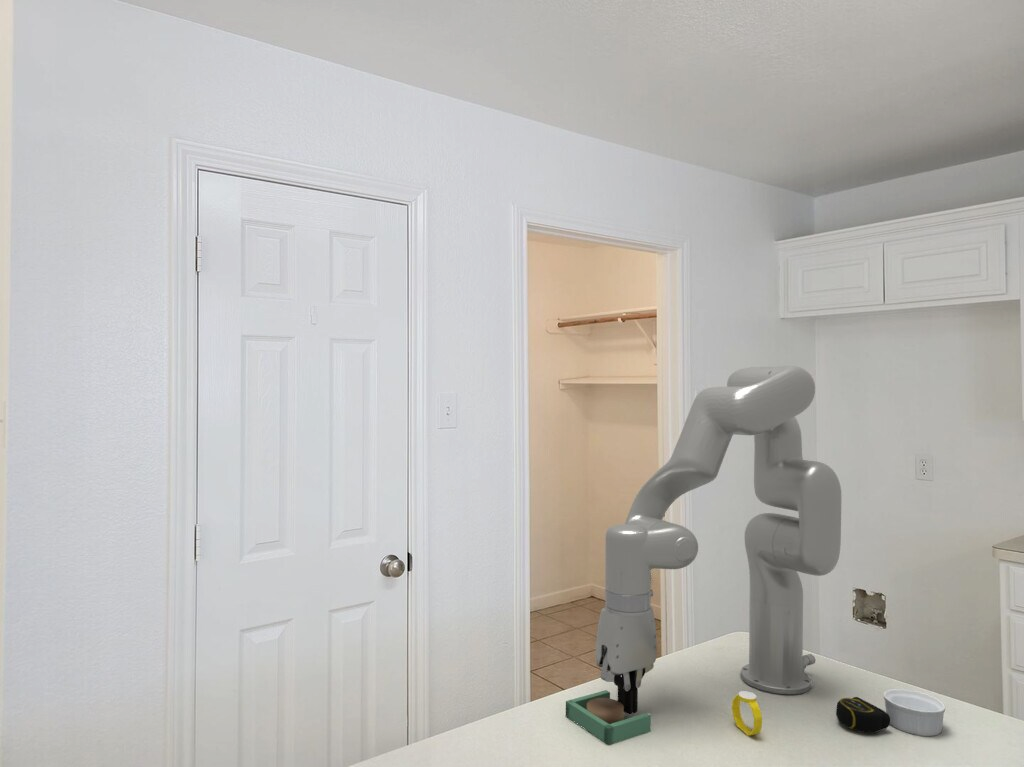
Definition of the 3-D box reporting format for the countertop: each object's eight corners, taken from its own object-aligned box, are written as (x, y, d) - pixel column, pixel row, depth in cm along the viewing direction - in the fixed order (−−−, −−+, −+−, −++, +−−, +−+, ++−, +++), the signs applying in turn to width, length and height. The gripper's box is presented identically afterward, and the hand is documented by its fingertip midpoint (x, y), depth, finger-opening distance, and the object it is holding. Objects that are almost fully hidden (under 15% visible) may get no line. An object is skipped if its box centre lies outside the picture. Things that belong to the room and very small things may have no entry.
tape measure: (892, 734, 110) (892, 711, 110) (858, 740, 108) (859, 716, 108) (859, 715, 117) (859, 693, 117) (826, 720, 115) (826, 698, 115)
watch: (727, 724, 113) (728, 687, 113) (741, 722, 113) (742, 685, 114) (751, 741, 107) (751, 703, 107) (766, 739, 108) (766, 701, 108)
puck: (607, 712, 116) (607, 695, 116) (631, 727, 111) (631, 709, 111) (579, 721, 113) (579, 702, 113) (601, 736, 108) (602, 717, 108)
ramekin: (892, 708, 120) (893, 683, 120) (951, 726, 113) (951, 700, 113) (875, 725, 113) (875, 698, 113) (936, 745, 107) (936, 717, 107)
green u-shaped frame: (606, 704, 119) (606, 690, 119) (650, 731, 110) (650, 715, 110) (565, 716, 114) (565, 701, 114) (608, 744, 105) (608, 728, 105)
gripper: (645, 588, 122) (645, 692, 121) (578, 601, 114) (578, 712, 114) (676, 599, 115) (676, 708, 115) (607, 613, 108) (607, 731, 107)
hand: (627, 710), depth 114 cm, fingers closed
